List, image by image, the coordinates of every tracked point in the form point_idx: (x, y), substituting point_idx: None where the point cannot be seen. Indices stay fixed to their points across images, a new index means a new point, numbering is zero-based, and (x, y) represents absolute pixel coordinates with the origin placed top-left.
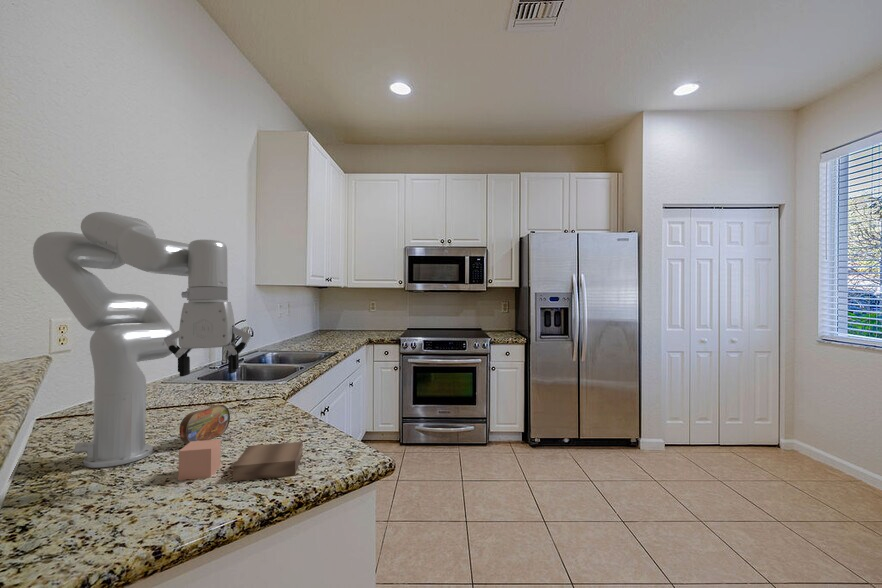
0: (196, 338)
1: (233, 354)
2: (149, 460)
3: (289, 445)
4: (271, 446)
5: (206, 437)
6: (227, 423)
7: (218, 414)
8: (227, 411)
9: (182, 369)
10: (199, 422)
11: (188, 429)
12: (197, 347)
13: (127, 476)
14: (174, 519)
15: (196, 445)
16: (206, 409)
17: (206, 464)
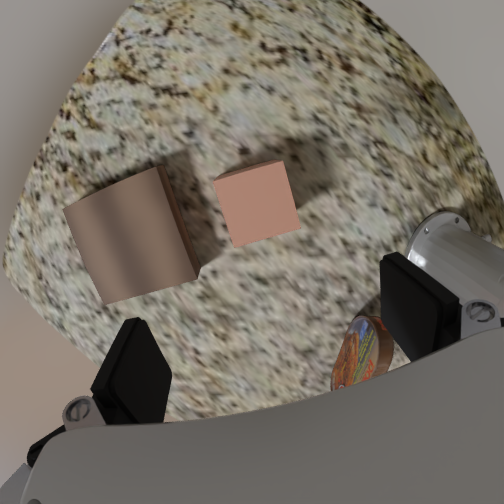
0: (419, 477)
1: (85, 400)
2: (390, 249)
3: (114, 284)
4: (145, 278)
5: (346, 348)
6: None
7: None
8: None
9: (402, 272)
10: (364, 357)
11: (372, 330)
12: (358, 382)
13: (380, 177)
14: (175, 38)
15: (266, 201)
16: None
17: (224, 175)
